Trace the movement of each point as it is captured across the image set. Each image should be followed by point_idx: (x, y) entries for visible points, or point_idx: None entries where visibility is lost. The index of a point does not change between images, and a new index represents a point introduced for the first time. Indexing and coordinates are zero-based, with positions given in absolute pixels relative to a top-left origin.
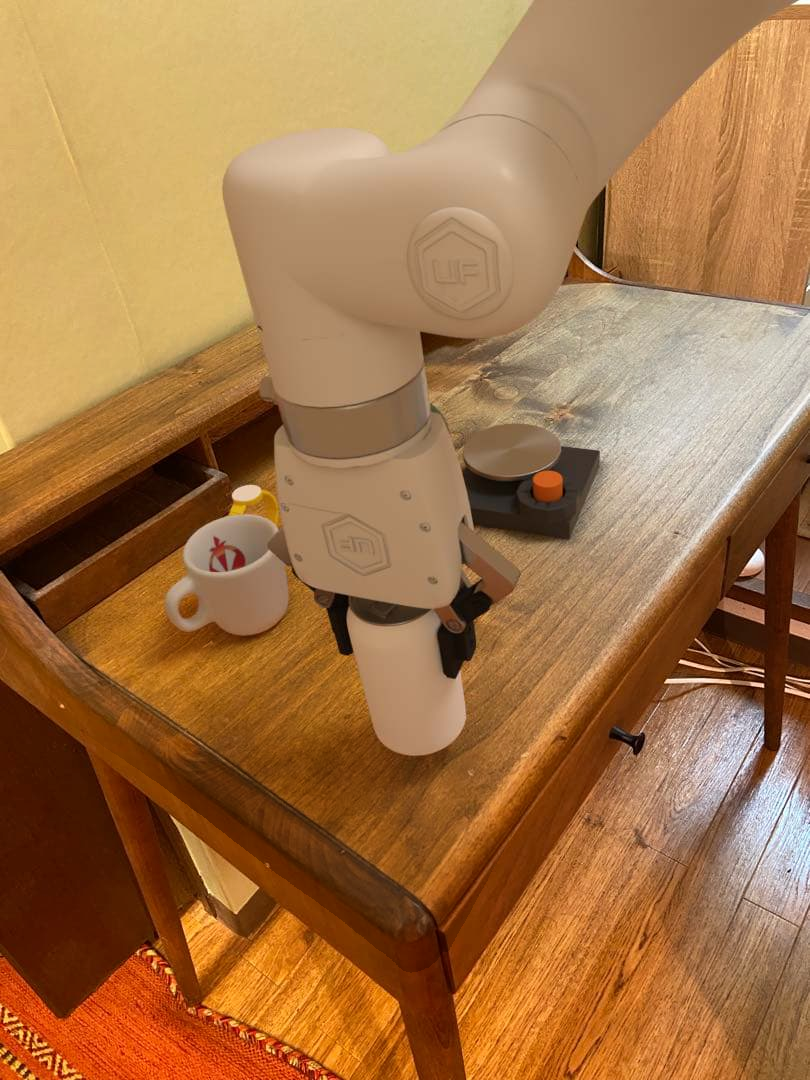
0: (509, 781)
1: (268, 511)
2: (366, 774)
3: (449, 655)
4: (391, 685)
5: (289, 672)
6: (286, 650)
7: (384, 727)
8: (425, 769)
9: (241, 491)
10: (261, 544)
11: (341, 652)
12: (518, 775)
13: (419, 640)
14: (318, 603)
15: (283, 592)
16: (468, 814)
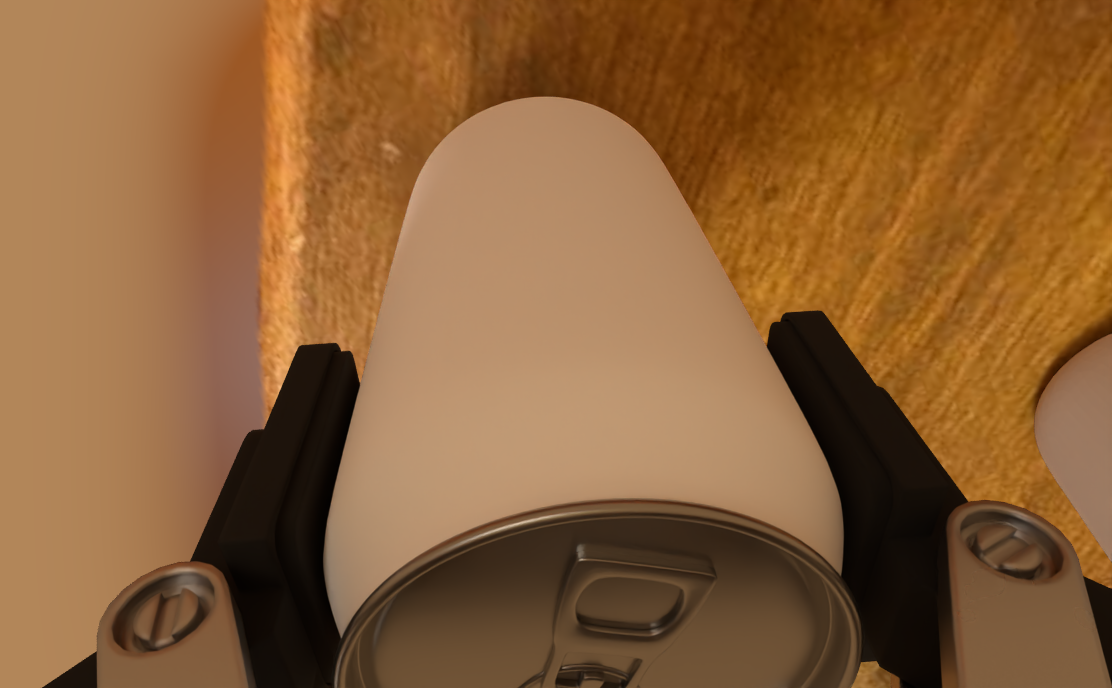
0: (289, 160)
1: None
2: (650, 41)
3: (267, 434)
4: (527, 233)
5: (973, 264)
6: (1000, 319)
7: (587, 131)
8: None
9: None
10: None
11: (816, 316)
12: (279, 184)
13: (365, 471)
14: (1027, 518)
15: (1069, 463)
16: (330, 26)
